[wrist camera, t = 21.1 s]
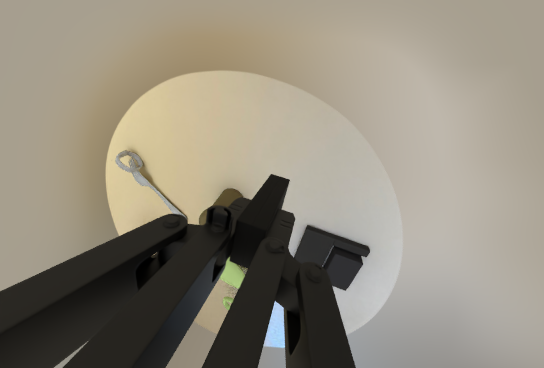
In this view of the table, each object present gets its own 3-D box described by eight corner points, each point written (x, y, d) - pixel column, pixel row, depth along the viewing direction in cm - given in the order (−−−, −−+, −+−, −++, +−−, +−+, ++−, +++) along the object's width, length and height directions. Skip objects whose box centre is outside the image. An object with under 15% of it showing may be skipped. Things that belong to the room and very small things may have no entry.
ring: (134, 147, 48) (114, 152, 43) (148, 164, 49) (130, 170, 44) (128, 154, 49) (108, 159, 44) (142, 170, 50) (124, 176, 45)
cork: (232, 215, 48) (208, 243, 38) (216, 196, 47) (187, 221, 38) (249, 203, 46) (229, 231, 36) (232, 183, 45) (207, 206, 35)
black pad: (291, 264, 50) (290, 269, 48) (307, 225, 44) (306, 228, 43) (344, 285, 48) (345, 290, 47) (368, 246, 43) (370, 251, 41)
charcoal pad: (360, 254, 44) (363, 264, 41) (346, 278, 47) (347, 288, 45) (334, 244, 45) (335, 253, 42) (322, 268, 48) (322, 278, 45)
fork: (188, 217, 55) (182, 224, 53) (127, 162, 50) (118, 166, 47) (193, 213, 54) (188, 219, 52) (133, 155, 49) (123, 159, 46)
